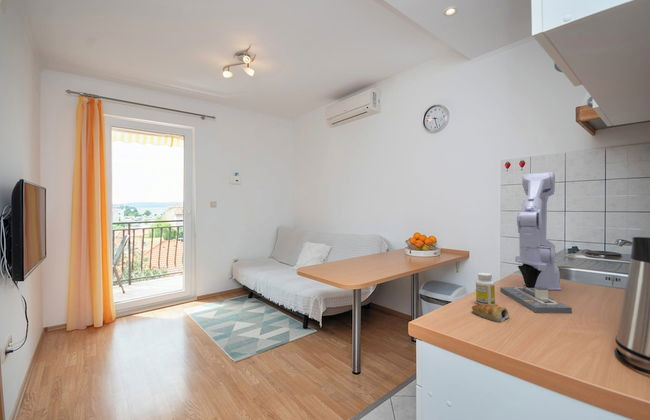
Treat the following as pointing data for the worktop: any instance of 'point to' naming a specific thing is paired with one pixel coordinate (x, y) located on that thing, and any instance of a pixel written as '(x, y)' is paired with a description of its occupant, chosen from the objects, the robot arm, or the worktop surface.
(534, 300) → the console
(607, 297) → the worktop surface
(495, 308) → the pastry
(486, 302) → the supplement bottle
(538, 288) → the fader tab
